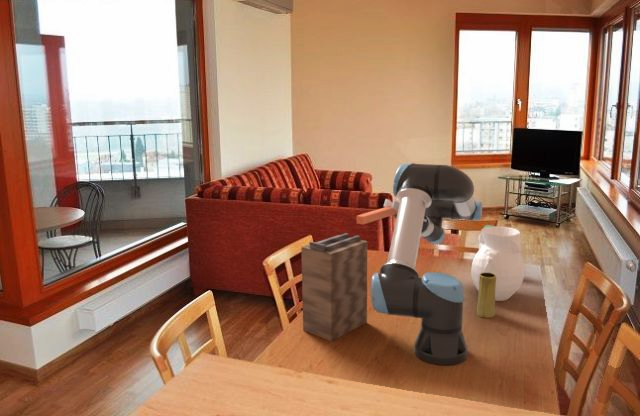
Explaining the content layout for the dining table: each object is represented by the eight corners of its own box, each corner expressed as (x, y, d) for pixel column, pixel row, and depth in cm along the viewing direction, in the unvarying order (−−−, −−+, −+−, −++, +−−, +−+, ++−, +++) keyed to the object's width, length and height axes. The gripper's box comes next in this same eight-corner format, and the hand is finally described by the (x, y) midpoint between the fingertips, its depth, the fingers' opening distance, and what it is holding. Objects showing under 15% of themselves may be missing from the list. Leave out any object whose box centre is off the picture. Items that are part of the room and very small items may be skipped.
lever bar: (400, 209, 206) (401, 202, 205) (407, 210, 204) (407, 203, 204) (356, 223, 187) (356, 215, 187) (362, 224, 185) (362, 216, 185)
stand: (339, 313, 195) (338, 229, 188) (366, 322, 187) (367, 235, 180) (303, 330, 182) (301, 240, 175) (331, 341, 174) (330, 247, 167)
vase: (498, 314, 192) (500, 274, 189) (489, 319, 188) (492, 279, 185) (481, 309, 196) (483, 270, 193) (473, 314, 192) (475, 275, 189)
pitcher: (533, 298, 206) (538, 231, 200) (500, 309, 196) (504, 240, 190) (492, 283, 221) (495, 221, 215) (459, 293, 211) (462, 229, 205)
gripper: (435, 237, 209) (404, 216, 192) (399, 230, 219) (368, 209, 202) (440, 218, 210) (411, 196, 193) (405, 212, 220) (374, 190, 203)
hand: (389, 203), depth 197 cm, fingers closed on lever bar, 3 cm apart
